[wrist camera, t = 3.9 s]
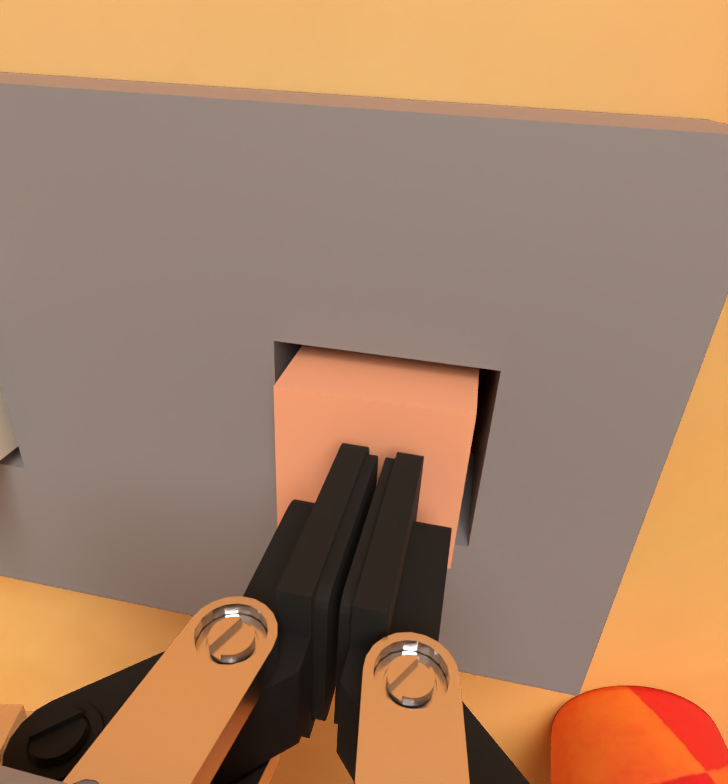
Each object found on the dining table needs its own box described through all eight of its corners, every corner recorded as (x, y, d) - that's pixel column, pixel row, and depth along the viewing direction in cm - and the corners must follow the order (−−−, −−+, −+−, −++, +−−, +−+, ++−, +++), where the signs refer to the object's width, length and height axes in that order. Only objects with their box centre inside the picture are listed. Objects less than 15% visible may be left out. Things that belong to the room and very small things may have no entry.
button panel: (564, 585, 19) (578, 696, 16) (-70, 469, 23) (-170, 540, 19) (706, 119, 13) (785, 138, 9) (-230, 56, 16) (-428, 53, 13)
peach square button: (460, 460, 17) (450, 568, 13) (323, 439, 17) (277, 537, 14) (481, 330, 15) (476, 415, 11) (326, 311, 15) (273, 385, 12)
